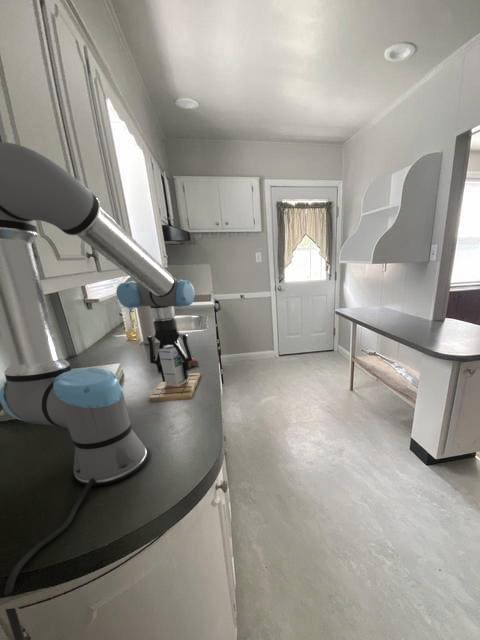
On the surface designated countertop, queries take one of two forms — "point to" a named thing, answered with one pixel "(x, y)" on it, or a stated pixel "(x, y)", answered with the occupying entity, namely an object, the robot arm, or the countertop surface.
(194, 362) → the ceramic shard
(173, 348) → the syrup box
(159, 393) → the board
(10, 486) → the countertop surface
